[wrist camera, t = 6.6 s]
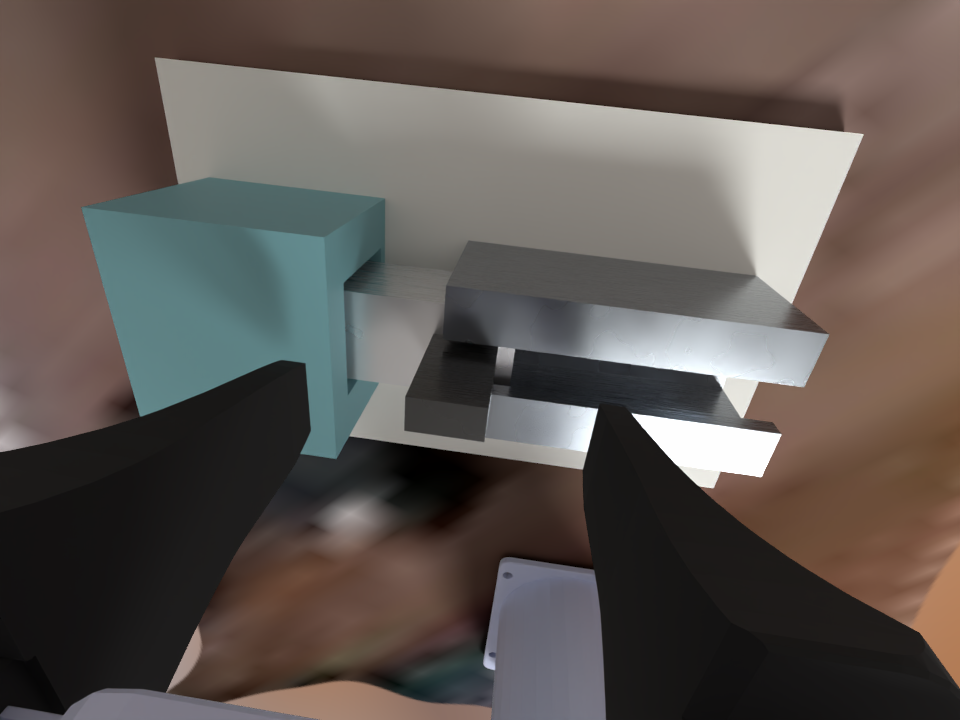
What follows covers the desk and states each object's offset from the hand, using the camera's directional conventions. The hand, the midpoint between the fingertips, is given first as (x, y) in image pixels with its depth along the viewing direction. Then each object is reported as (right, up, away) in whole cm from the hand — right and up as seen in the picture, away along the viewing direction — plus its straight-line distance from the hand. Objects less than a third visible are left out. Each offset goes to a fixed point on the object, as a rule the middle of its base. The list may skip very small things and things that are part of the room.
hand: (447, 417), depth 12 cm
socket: (-6, +4, +7) cm, 10 cm away
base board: (+1, +4, +7) cm, 8 cm away
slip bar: (-3, +3, +6) cm, 7 cm away
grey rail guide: (+5, +3, +6) cm, 9 cm away
